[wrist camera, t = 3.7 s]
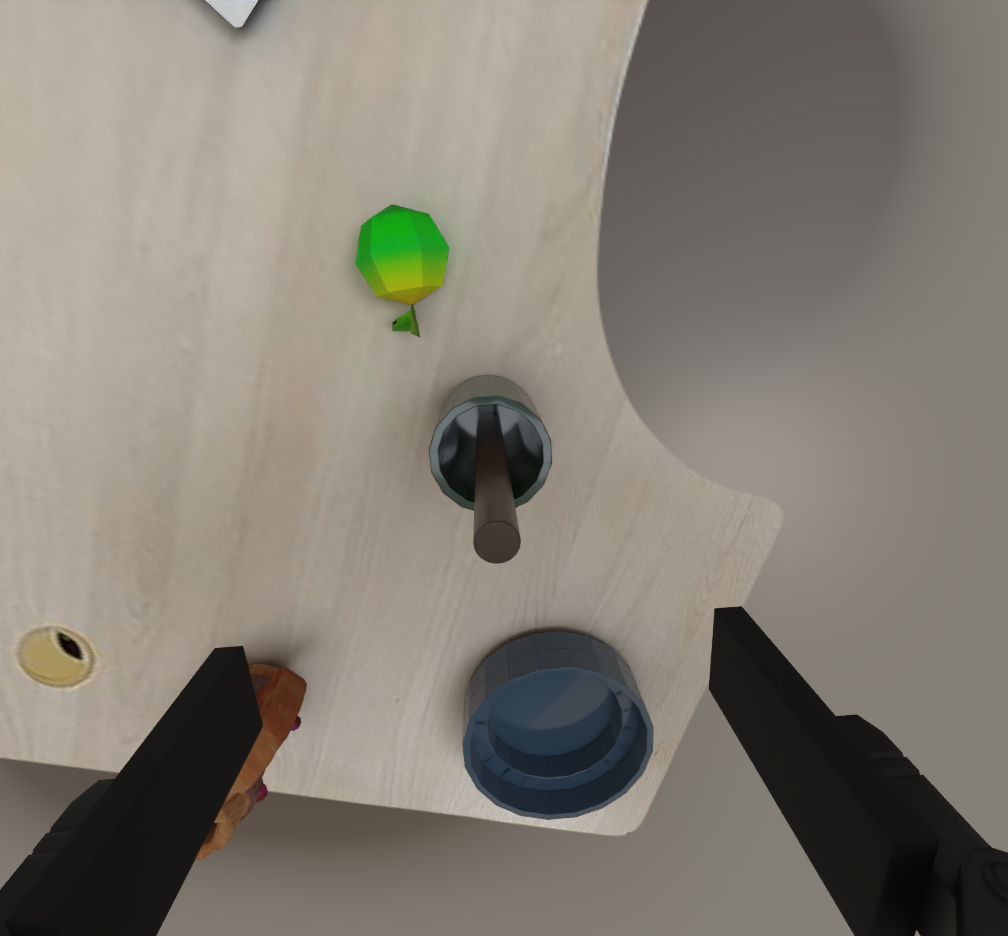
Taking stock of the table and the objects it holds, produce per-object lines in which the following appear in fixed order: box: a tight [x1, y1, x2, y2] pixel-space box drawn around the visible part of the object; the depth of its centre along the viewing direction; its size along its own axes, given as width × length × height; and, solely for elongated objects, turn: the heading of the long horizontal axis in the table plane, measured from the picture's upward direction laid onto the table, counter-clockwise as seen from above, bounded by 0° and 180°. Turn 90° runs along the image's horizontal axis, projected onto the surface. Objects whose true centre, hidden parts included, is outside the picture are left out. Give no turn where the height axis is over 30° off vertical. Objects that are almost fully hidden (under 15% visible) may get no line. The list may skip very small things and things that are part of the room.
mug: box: [195, 664, 307, 860], centre depth 43 cm, size 15×8×15 cm, turn 136°
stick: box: [473, 413, 521, 563], centre depth 32 cm, size 2×2×22 cm
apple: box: [356, 205, 449, 337], centre depth 37 cm, size 7×6×9 cm
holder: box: [429, 375, 552, 511], centre depth 39 cm, size 8×8×10 cm
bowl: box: [462, 631, 653, 820], centre depth 50 cm, size 17×17×6 cm
